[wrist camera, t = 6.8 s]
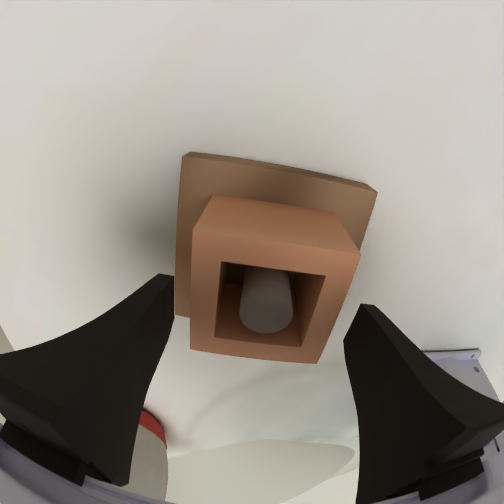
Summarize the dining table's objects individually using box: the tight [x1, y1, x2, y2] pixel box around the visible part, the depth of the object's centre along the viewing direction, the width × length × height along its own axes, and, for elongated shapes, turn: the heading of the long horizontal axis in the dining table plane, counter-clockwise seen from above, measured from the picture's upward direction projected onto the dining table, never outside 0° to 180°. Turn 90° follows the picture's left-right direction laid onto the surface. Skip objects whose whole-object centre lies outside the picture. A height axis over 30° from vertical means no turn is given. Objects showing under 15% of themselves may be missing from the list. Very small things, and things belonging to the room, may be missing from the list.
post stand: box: [175, 152, 378, 334], centre depth 13 cm, size 9×9×6 cm
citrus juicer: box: [104, 410, 168, 501], centre depth 18 cm, size 16×17×20 cm
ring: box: [190, 194, 361, 364], centre depth 12 cm, size 6×6×4 cm
